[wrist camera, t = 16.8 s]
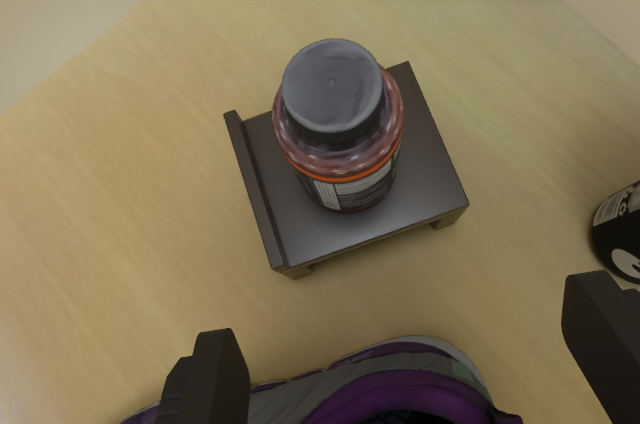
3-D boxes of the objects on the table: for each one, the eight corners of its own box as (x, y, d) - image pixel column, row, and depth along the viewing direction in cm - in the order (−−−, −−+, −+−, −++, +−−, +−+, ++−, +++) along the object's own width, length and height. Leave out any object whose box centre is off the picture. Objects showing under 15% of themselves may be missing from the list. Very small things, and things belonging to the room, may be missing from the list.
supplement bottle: (291, 133, 31) (244, 30, 20) (384, 112, 30) (390, -5, 19) (308, 224, 29) (268, 169, 18) (406, 204, 29) (425, 135, 18)
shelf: (403, 100, 37) (410, 44, 29) (454, 223, 34) (476, 197, 27) (253, 155, 37) (222, 113, 30) (294, 280, 35) (271, 269, 27)
